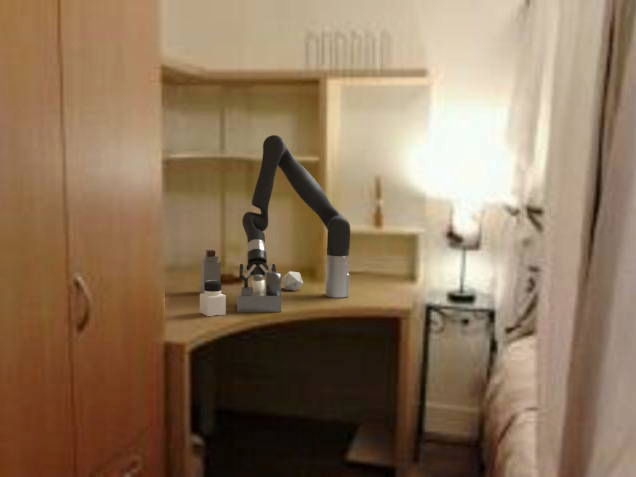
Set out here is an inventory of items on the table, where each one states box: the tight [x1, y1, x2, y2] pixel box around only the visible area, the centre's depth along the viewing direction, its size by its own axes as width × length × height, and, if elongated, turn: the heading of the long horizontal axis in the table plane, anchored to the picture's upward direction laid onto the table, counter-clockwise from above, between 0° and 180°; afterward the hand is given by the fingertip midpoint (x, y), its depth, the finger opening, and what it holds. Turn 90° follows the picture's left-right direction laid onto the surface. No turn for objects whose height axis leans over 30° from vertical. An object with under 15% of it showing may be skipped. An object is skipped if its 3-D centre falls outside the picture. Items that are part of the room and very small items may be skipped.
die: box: [281, 270, 304, 292], centre depth 281 cm, size 8×9×10 cm
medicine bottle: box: [199, 280, 227, 317], centre depth 233 cm, size 7×7×12 cm
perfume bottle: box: [200, 249, 222, 294], centre depth 268 cm, size 7×7×18 cm
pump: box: [250, 274, 266, 293], centre depth 248 cm, size 5×5×12 cm
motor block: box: [236, 271, 283, 313], centre depth 244 cm, size 16×13×14 cm
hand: (258, 287), depth 247 cm, fingers open, 8 cm apart
